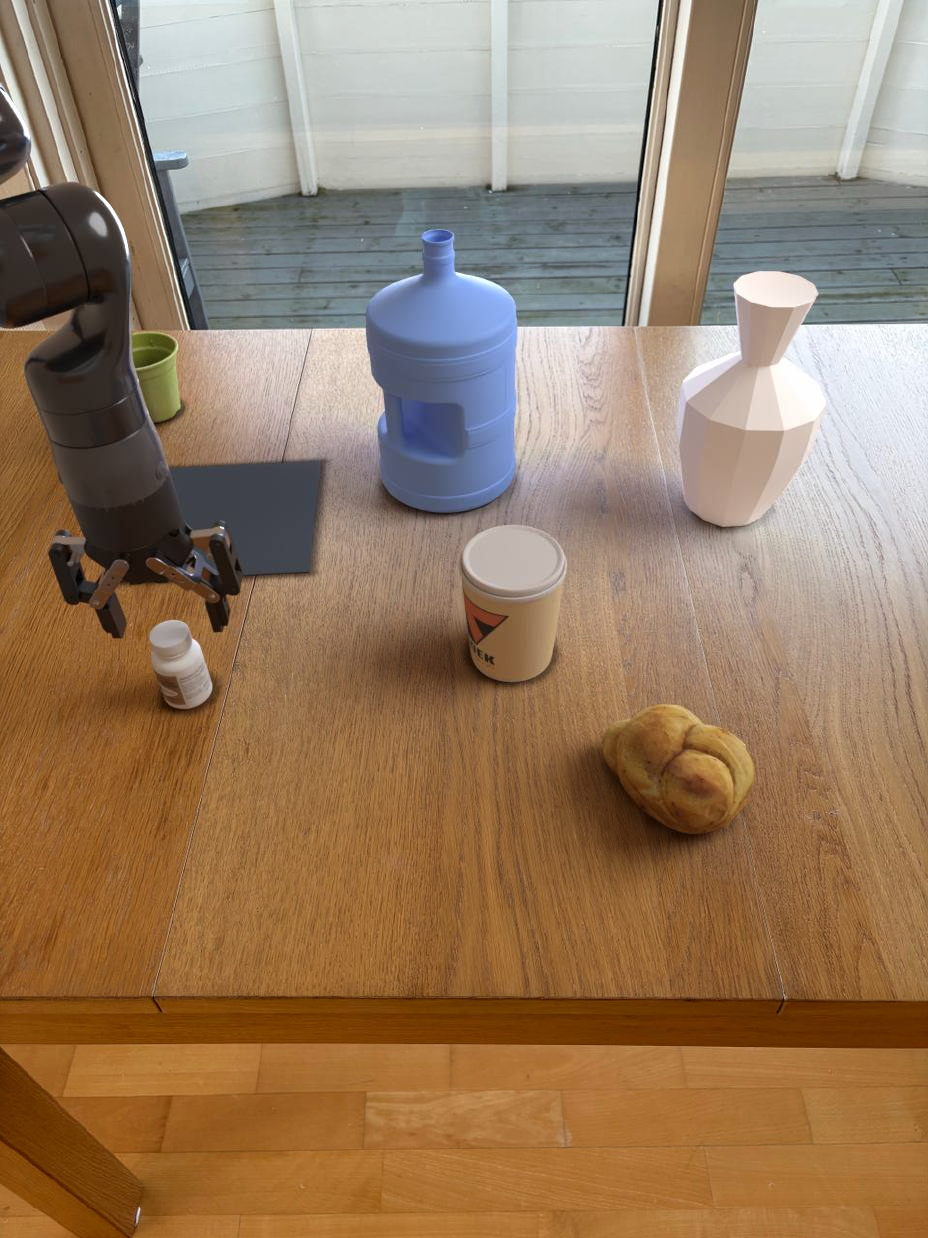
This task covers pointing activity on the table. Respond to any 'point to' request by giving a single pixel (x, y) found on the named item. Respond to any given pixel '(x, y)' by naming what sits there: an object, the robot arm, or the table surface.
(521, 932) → the table surface
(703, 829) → the bread roll
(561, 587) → the coffee cup
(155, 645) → the pill bottle
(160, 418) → the plant pot
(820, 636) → the table surface
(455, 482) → the water jug
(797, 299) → the vase
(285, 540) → the mat
